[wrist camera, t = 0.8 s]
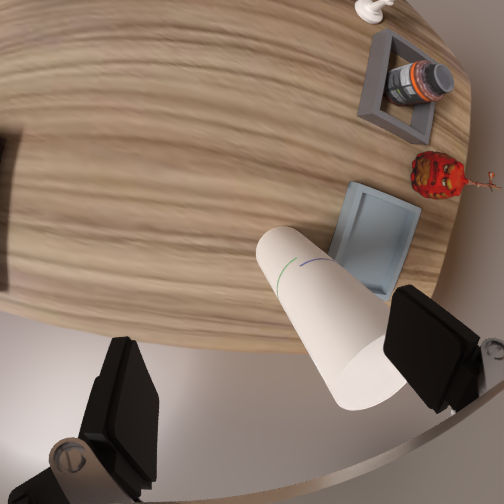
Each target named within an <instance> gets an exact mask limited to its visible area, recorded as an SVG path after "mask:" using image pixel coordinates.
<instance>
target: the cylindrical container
mask: <svg viewBox="0 0 504 504" xmlns="http://www.w3.org/2000/svg"><path fill="white" fill-rule="evenodd" d="M256 258H257V261H258V263H259V265H260V267H261V269H262V271H263V273H264V274H265V276H266V278H267V280H268V281H269V283H270V285H271V287H272V289H273V290H274V292H275V294H276V296H277V298H278V299H279V301H280V303H281V305H282V306H283V308H284V310H285V312H286V314H287V315H288V317H289V319H290V321H291V322H292V324H293V326H294V328H295V330H296V331H297V333H298V335H299V337H300V338H301V340H302V342H303V344H304V346H305V347H306V349H307V351H308V353H309V355H310V356H311V358H312V360H313V362H314V363H315V365H316V367H317V369H318V371H319V372H320V374H321V376H322V378H323V379H324V381H325V383H326V385H327V387H328V388H329V390H330V392H331V394H332V395H333V397H334V399H335V401H336V403H337V404H338V405H339V406H340V407H342V408H344V409H348V410H361V409H366V408H369V407H372V406H375V405H377V404H379V403H381V402H383V401H384V400H386V399H387V398H389V397H391V396H392V395H393V394H394V393H396V392H397V391H398V390H399V389H400V388H401V387H403V386H404V385H405V383H406V382H407V381H406V380H405V378H404V377H403V376H402V375H401V374H400V372H399V371H398V370H397V369H396V368H395V366H394V365H393V364H392V363H391V362H390V361H389V359H388V358H387V357H386V356H385V354H384V352H383V344H384V340H385V335H386V330H387V325H388V319H389V314H390V307H389V306H388V305H386V304H385V303H384V302H383V301H382V300H381V299H379V298H378V297H377V296H376V295H375V294H374V293H372V292H371V291H370V290H369V289H368V288H367V287H365V286H364V285H363V284H362V283H361V282H360V281H358V280H357V279H356V278H355V277H354V276H352V275H351V274H350V273H349V272H348V271H347V270H345V269H344V268H343V267H342V266H341V265H339V264H338V263H337V262H336V261H334V260H333V259H332V258H331V257H330V256H328V255H327V254H326V253H325V252H323V251H322V250H321V249H320V248H318V247H317V246H316V245H315V244H313V243H312V242H311V241H310V240H308V239H307V238H306V237H305V236H303V235H302V234H301V233H300V232H298V231H297V230H295V229H294V228H291V227H287V226H279V227H275V228H273V229H271V230H269V231H268V232H266V233H265V234H264V235H263V236H262V237H261V239H260V240H259V242H258V245H257V249H256Z"/></svg>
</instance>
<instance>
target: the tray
mask: <svg viewBox="0 0 504 504" xmlns="http://www.w3.org/2000/svg"><path fill="white" fill-rule="evenodd" d="M420 213H421V208H419V207H417V206H414V205H412V204H410V203H407V202H405V201H403V200H400V199H398V198H395V197H393V196H391V195H388V194H386V193H383V192H381V191H378V190H375V189H373V188H370V187H368V186H365V185H362V184H360V183H356V182H352V181H350V182H349V186H348V189H347V193H346V196H345V200H344V203H343V206H342V210H341V213H340V216H339V220H338V223H337V226H336V229H335V232H334V236H333V239H332V242H331V245H330V248H329V251H328V254H327V255H328V256H330V257H331V258H332V259H333V260H334V261H336V262H337V263H338V264H339V265H341V266H342V267H343V268H344V269H345V270H347V271H348V272H349V273H350V274H351V275H352V276H354V277H355V278H356V279H357V280H358V281H360V282H361V283H362V284H363V285H364V286H365V287H367V288H368V289H369V290H370V291H371V292H372V293H374V294H375V295H376V296H377V297H378V298H379V299H381V300H385V301H389V298H390V296H391V294H392V291H393V289H394V286H395V284H396V281H397V279H398V276H399V274H400V271H401V269H402V266H403V263H404V261H405V258H406V255H407V252H408V250H409V247H410V244H411V241H412V238H413V235H414V232H415V229H416V226H417V222H418V219H419V216H420Z"/></svg>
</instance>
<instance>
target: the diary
mask: <svg viewBox="0 0 504 504" xmlns="http://www.w3.org/2000/svg"><path fill="white" fill-rule="evenodd" d="M4 142H5V138H3V137H0V161H1V156H2V151H3V147H4Z"/></svg>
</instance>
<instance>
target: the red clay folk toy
mask: <svg viewBox="0 0 504 504" xmlns="http://www.w3.org/2000/svg"><path fill="white" fill-rule="evenodd" d="M412 168H413V172H412V173H411V181H412V187H413V189H414V190H415V191H417V192H418V193H420V194H421V195H422V196H424V197H426V198H432V199H447V198H450V197H453V196H459V195H460V194H461V190H462V189H463V186H464V185H466V184H467V185H471V184H475V185H476V186H477V187H479V186H484V187H487V188H490V189H491V191H492V189H493V188H495V189H498V190H501V187H500V188H498V187H496V185H494V184H492V182H491V181H492V178H493V177H494V173H491V172H489V174H488V175H489V178H490V180H489V184H483V183H479V182H473V181H471V180H469V179H466V178H465V174H464V165H463V164H462V163H460V162H457V161H456V160H455V159H454V158H452V157H450V156H448V155H447V154H445V153H440V152H433V151H426V152H424V153H420V154H418V155H417V157H416V159H415V160H414V161H413V162H412Z"/></svg>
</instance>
